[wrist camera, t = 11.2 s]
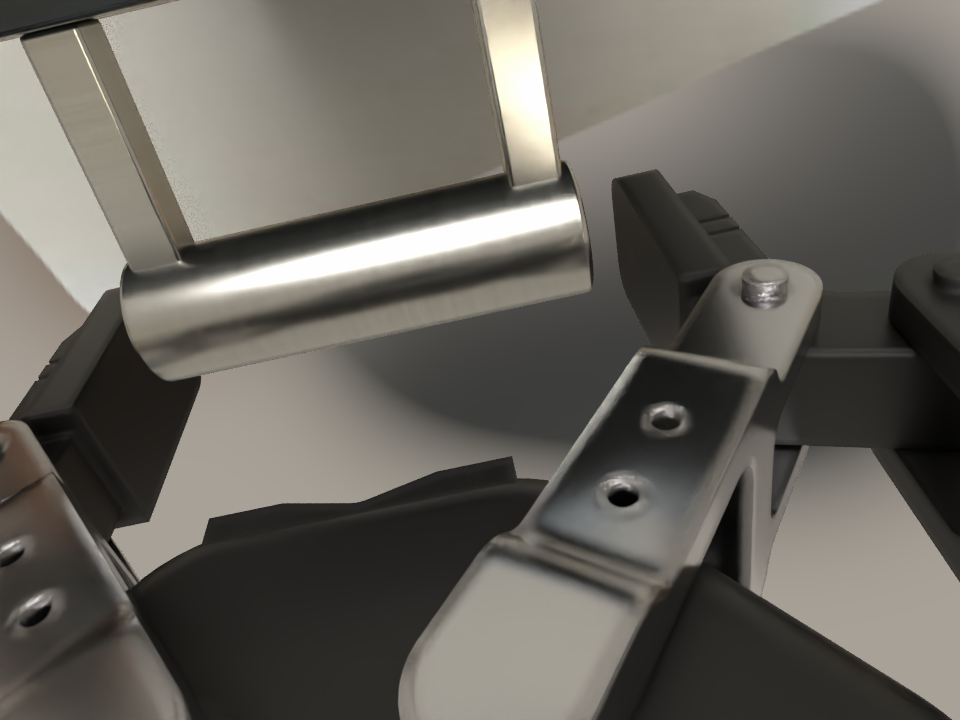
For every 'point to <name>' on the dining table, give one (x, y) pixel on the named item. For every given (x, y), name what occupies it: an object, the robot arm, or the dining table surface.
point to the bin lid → (318, 238)
